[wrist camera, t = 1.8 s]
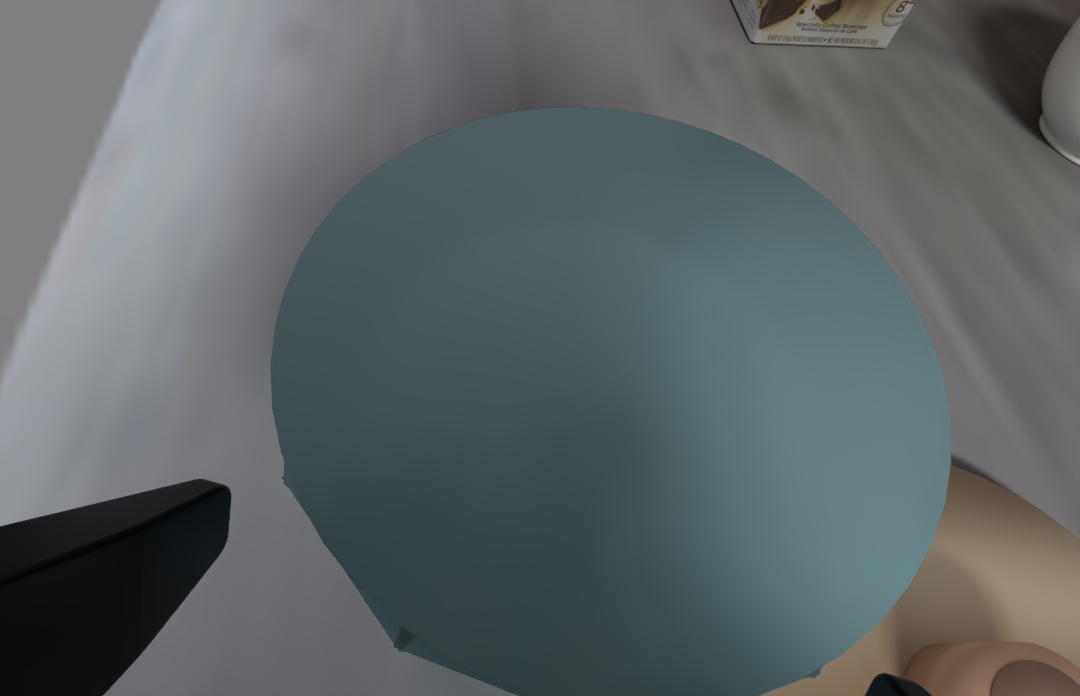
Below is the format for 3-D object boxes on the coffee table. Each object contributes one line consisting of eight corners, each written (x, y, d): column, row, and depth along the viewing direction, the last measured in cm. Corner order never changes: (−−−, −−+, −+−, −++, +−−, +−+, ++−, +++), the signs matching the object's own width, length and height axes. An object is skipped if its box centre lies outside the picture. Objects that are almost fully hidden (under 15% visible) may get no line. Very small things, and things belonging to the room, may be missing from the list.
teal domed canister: (677, 639, 16) (1123, 605, 5) (433, 700, 15) (238, 854, 3) (612, 417, 19) (778, 89, 8) (410, 452, 18) (274, 122, 7)
